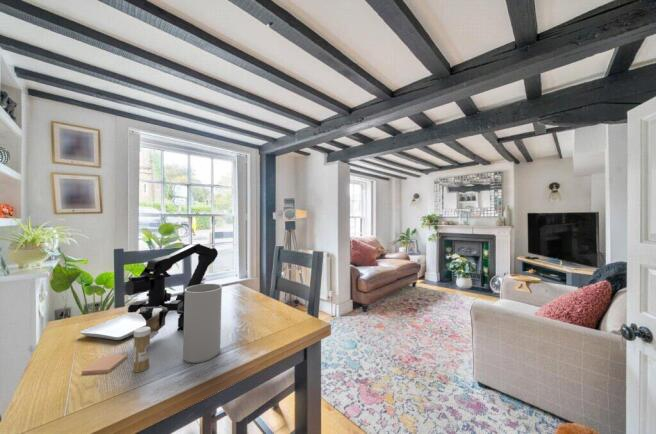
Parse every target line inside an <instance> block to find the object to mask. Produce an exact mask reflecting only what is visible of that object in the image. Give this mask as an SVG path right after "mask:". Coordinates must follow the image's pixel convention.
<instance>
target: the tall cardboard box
mask: <svg viewBox="0 0 656 434" xmlns="http://www.w3.org/2000/svg"><path fill="white" fill-rule="evenodd" d="M165 325H166V318H165V319H164V322H163V324H162V326H161V327H160V325H159V313H155V314H154V315H152V317H151V318H150V319H148V320H147V321H146V327H150V328H151V333H150V339H153V338H154V337H156V336H157V335H158V334H159V330H161V329H162V328H163V327H164V326H165Z"/></svg>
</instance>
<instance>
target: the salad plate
mask: <svg viewBox="0 0 656 434" xmlns="http://www.w3.org/2000/svg"><path fill="white" fill-rule="evenodd" d="M140 327H146V320H145V319H144V318H143V316H142V315H141V314H139V313H126V314H122V315H120V316H118V317H115V318H112V319H109V320H106V321H104V322H102V323H98V324H96V325H94V326H93V325H92V326H91V327H89V328H86V329H83V330H80V331H79V333H80V334H81V335H83V336H86V337H90V338H91V337H93V338H94V337H95V338H99V339H106V340H107V339H108V340H115V341H121V340H124V339H125V338H128V337H131V336H134V330H136V329H137V328H140Z"/></svg>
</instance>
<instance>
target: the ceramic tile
mask: <svg viewBox="0 0 656 434" xmlns="http://www.w3.org/2000/svg"><path fill="white" fill-rule="evenodd" d="M126 359H128V354H119V355H117V354H116V355H115V354H114V355H102V356H101V357H99V358H98V359H97V360H96V361H94V362H93V363H91V364H90V365H88V366H87V367H86V368H85V369H83V370H81V375H87V374H88V375H89V374H109V373H110V372H112V371H113V370H114V369H115V368H116V367H118V366H119V365H120V364H122V363H123V362H124V361H125V360H126Z"/></svg>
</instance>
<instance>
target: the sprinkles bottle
mask: <svg viewBox="0 0 656 434" xmlns="http://www.w3.org/2000/svg"><path fill="white" fill-rule="evenodd" d="M150 333H151V328H150V327H140V328H137V329H136V330H134V334H133V338H134V339H133V356H132V357H133V364H132V365H133V368H132V372H134V373H141V372H144V371H146V370H148V369H149V368H150V354H151V353H150V352H151V349H150V347H151V345H150V344H151V343H150V342H151V341H150Z"/></svg>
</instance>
